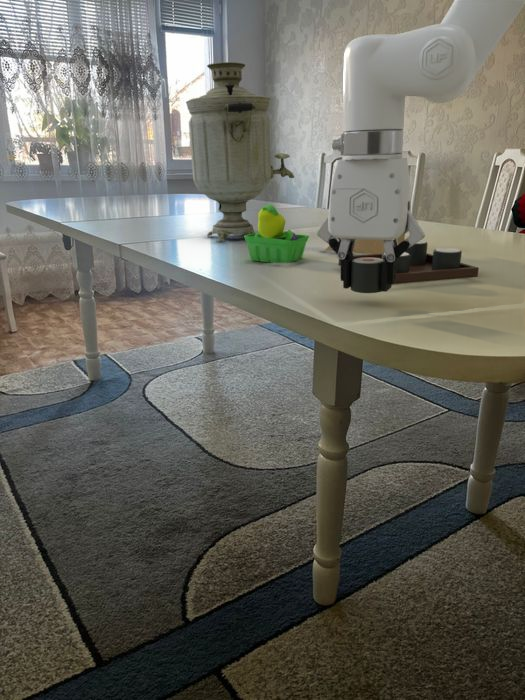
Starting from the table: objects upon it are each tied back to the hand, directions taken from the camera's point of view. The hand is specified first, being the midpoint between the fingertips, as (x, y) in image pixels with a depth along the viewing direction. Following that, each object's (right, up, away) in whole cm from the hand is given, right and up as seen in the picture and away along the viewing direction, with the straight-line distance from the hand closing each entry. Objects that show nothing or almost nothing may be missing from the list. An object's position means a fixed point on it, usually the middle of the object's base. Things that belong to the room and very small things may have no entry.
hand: (367, 286), depth 75 cm
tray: (+11, +5, +23) cm, 26 cm away
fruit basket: (-12, +9, +34) cm, 38 cm away
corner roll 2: (+14, +8, +28) cm, 33 cm away
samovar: (-19, +20, +65) cm, 71 cm away
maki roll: (0, 0, 0) cm, 0 cm away
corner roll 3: (+17, +4, +19) cm, 26 cm away
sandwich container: (+8, +13, +44) cm, 47 cm away
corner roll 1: (+8, +3, +16) cm, 18 cm away
